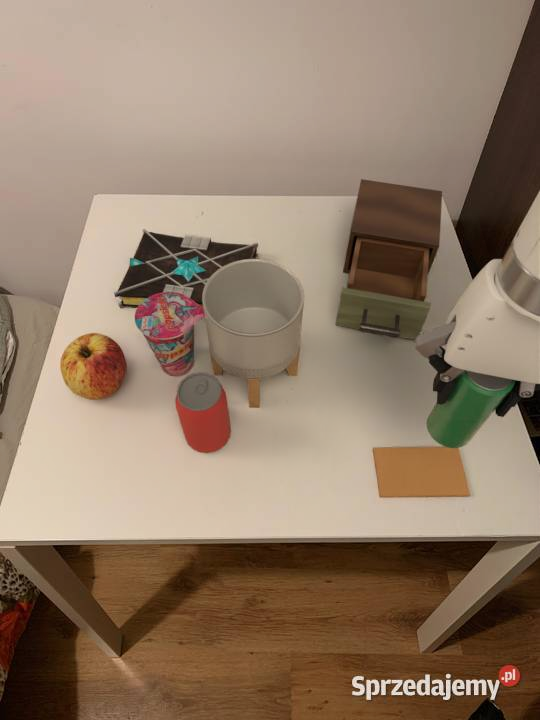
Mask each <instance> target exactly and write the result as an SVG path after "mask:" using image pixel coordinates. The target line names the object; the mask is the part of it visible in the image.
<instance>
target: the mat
mask: <svg viewBox="0 0 540 720" xmlns="http://www.w3.org/2000/svg"><path fill="white" fill-rule="evenodd" d="M372 452H373V459H374V466H375V467H374V468H375V472H376V479H377V485H378V493H379V494H378V495H379V498H380V499H381V498H382V499H384V498H458V497H462V498H463V497H466V498H467V497H470V496H471V492H470V488H469V484H468V481H467V480H468V479H467V477H466V472H465V468H464V464H463V460H462V457H461V452H460V448H448V447H445V446H411V447H410V446H409V447H407V446H406V447H404V446H401V447H399V446H398V447H392V446H391V447H389V446H388V447H372Z"/></svg>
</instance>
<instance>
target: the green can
mask: <svg viewBox="0 0 540 720" xmlns="http://www.w3.org/2000/svg"><path fill="white" fill-rule="evenodd" d="M514 384H515V380H512V379H507V378H502V377H496V376H491V375H486V374H481V373H476V372H471V371H467V370H466V371H465V372H463V373H462V374H461V375H459V376H458V377H456V386H455V388H454V390H453V391H452V393H451V394H450V396H449V398H448V399H447V401H446V403H445V404H443V405H441V404H437V401H436V402H435V404H434V406H433V408H432V409H431V410H430V412H429V414H428V416H427V419H426V428H427V432H428V434H429V435H430V437H431V438H432V439H433V441H435V442H436V443H437V444H439V445H441V446H442V447H448V448H459V449H460V448H463V447H465V446H466V445H468V444H469V443H470V442H471V440H472V439H473V438H474V436H476V434H477V433H478V432H479V430H480V429H481V428H482V427H483V425H484V424H485V423H486V422H487V421H488V419H489V418H490V417H491V416H492V414H493V413H494V412H495V409H496V408H497V407H498V405H499V404H500V403H501V402H502V401H503V399H504V398H505V397H506V396H507V394H508V393H509V392H510V391H511V389H512V388H513V386H514Z"/></svg>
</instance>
